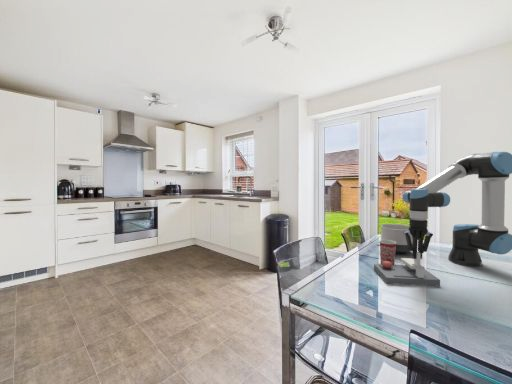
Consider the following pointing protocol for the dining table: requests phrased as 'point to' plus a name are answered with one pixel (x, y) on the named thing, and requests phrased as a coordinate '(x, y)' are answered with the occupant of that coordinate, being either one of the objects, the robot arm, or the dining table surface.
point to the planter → (396, 236)
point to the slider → (420, 271)
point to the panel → (405, 275)
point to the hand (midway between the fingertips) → (417, 264)
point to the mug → (387, 250)
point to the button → (387, 264)
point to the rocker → (409, 262)
